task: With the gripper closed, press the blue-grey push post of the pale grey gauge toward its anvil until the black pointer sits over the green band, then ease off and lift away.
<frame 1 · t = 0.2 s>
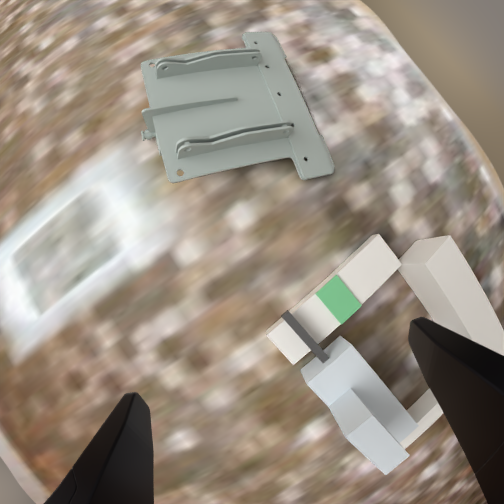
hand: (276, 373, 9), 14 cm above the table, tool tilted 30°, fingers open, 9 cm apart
gauge plunger: (355, 394, 19), point 4 cm above the table, slide at 0.0 cm
metal bracket: (230, 115, 25), on the table
gauge housing: (390, 358, 23), on the table
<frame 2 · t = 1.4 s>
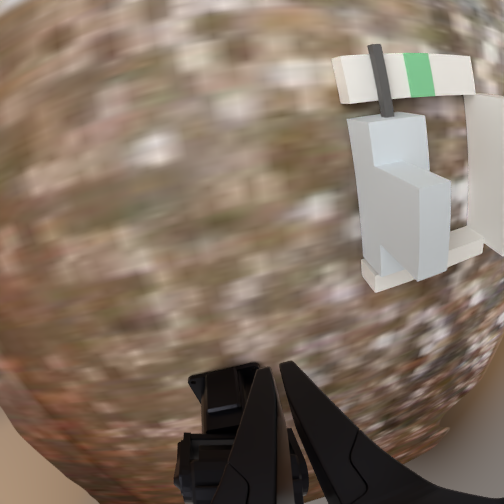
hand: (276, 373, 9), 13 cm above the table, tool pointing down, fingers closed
gauge plunger: (410, 167, 16), point 4 cm above the table, slide at 0.0 cm
gauge housing: (423, 174, 21), on the table
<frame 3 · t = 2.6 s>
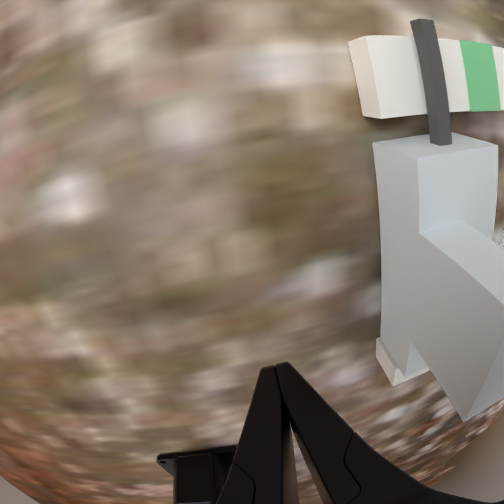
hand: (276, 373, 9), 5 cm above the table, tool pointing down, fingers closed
gauge plunger: (474, 234, 9), point 4 cm above the table, slide at 0.0 cm
gauge housing: (470, 222, 14), on the table
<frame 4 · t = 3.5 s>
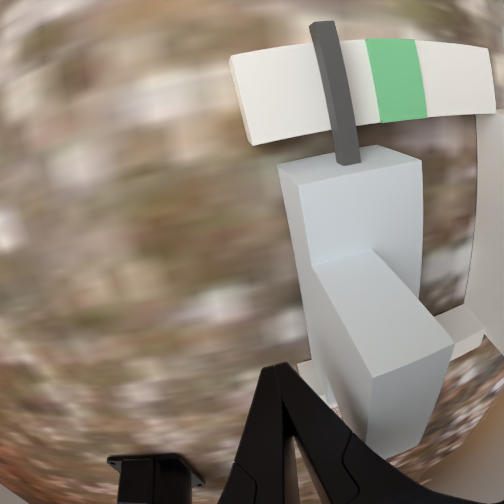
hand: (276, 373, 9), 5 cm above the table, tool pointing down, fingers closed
gauge plunger: (382, 267, 9), point 4 cm above the table, slide at 0.8 cm, touching gripper
gauge housing: (402, 245, 14), on the table
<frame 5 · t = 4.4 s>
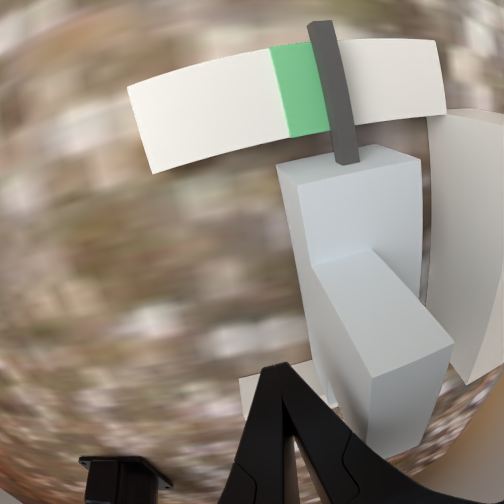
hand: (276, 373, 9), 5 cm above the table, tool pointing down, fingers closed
gauge plunger: (382, 266, 9), point 4 cm above the table, slide at 4.0 cm, touching gripper
gauge housing: (339, 263, 14), on the table
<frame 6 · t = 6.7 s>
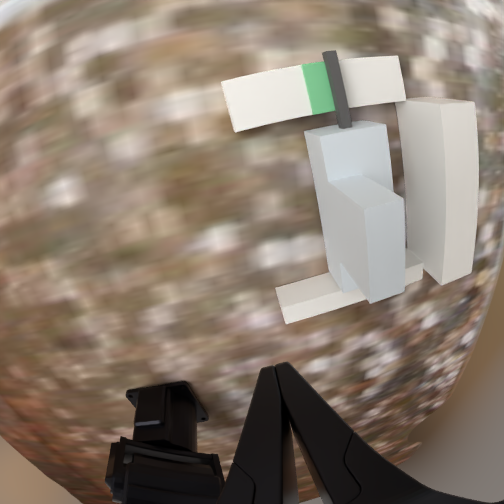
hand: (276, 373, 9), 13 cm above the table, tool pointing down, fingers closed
gauge plunger: (367, 181, 16), point 4 cm above the table, slide at 4.0 cm
gauge housing: (343, 196, 21), on the table
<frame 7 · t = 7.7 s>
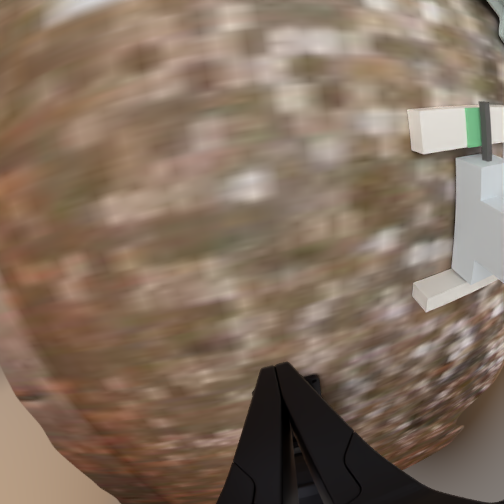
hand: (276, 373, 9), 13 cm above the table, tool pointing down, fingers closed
gauge plunger: (502, 202, 18), point 4 cm above the table, slide at 4.0 cm
gauge housing: (467, 209, 22), on the table
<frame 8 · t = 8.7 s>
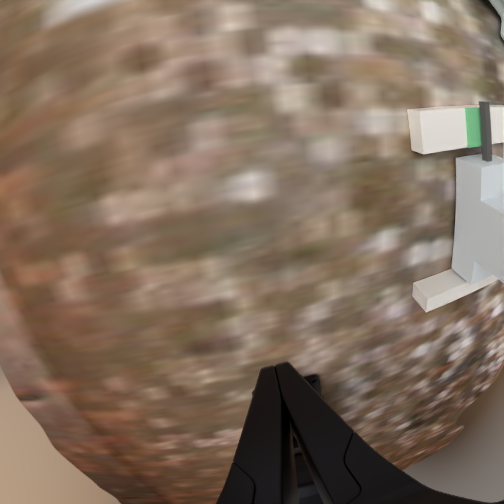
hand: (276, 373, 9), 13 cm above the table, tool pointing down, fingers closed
gauge plunger: (502, 202, 18), point 4 cm above the table, slide at 4.0 cm
gauge housing: (467, 210, 22), on the table
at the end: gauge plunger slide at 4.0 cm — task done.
